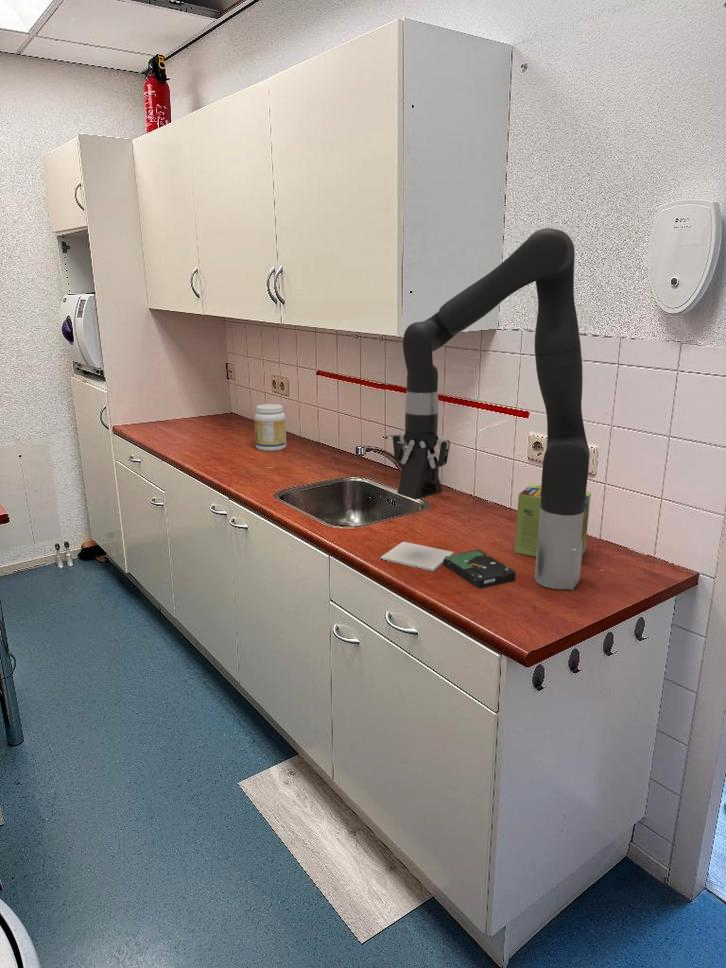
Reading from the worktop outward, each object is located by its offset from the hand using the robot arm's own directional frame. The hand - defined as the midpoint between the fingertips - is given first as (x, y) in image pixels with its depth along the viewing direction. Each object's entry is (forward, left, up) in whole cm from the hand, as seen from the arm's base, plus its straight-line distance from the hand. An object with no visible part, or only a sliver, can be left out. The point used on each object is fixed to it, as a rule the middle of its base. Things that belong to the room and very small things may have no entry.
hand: (419, 480), depth 163 cm
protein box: (-27, -20, -20) cm, 39 cm away
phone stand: (0, 0, -3) cm, 3 cm away
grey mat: (0, 0, -19) cm, 19 cm away
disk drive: (-16, +1, -20) cm, 26 cm away
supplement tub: (+100, -72, -20) cm, 125 cm away
